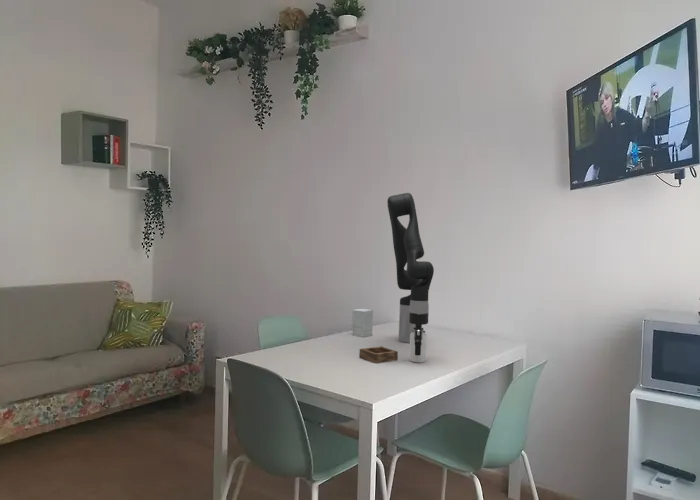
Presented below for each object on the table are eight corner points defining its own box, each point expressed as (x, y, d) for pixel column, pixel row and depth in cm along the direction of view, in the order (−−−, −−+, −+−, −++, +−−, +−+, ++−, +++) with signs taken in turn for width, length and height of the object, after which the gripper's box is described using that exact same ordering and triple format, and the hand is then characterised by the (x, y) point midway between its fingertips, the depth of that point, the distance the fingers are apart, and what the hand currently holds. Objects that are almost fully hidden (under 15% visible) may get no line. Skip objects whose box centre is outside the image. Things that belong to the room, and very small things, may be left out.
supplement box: (372, 335, 274) (373, 309, 274) (363, 337, 268) (364, 311, 268) (361, 333, 279) (361, 308, 278) (351, 335, 273) (352, 309, 273)
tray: (381, 354, 232) (381, 346, 232) (397, 360, 223) (397, 351, 223) (359, 357, 226) (359, 348, 226) (375, 363, 217) (375, 354, 217)
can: (415, 363, 218) (416, 333, 218) (406, 359, 224) (407, 330, 224) (428, 362, 221) (429, 332, 221) (419, 358, 227) (420, 329, 227)
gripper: (409, 308, 230) (408, 348, 230) (409, 313, 215) (407, 356, 216) (428, 309, 229) (426, 349, 229) (428, 314, 214) (427, 357, 215)
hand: (417, 353), depth 223 cm, fingers closed on can, 6 cm apart
